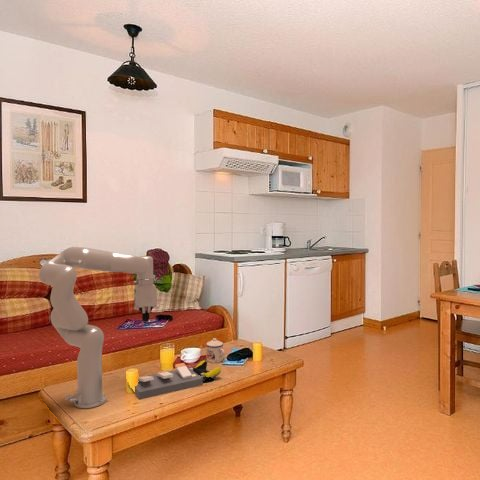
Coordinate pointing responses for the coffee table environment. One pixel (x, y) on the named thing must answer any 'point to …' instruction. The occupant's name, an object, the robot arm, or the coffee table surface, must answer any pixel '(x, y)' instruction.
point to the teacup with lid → (215, 351)
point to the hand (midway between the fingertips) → (145, 320)
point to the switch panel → (166, 384)
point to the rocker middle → (164, 374)
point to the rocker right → (183, 370)
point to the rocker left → (145, 378)
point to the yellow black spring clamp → (202, 371)
